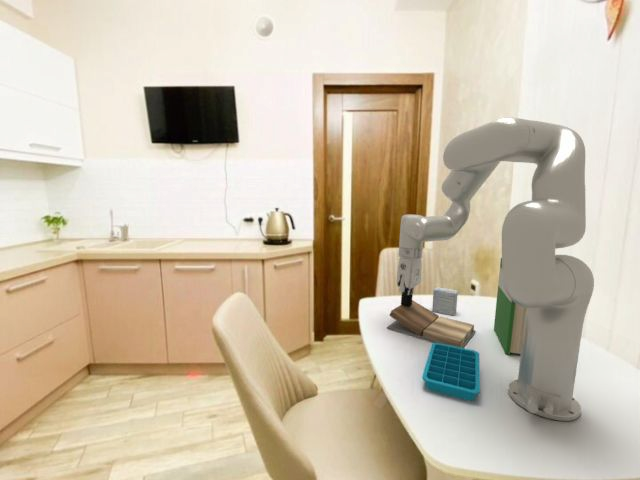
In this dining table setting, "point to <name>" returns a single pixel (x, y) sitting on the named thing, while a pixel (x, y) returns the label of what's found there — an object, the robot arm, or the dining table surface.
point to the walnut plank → (414, 317)
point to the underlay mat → (405, 330)
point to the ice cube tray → (453, 371)
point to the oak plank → (449, 331)
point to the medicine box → (444, 301)
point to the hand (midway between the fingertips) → (406, 305)
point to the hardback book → (508, 320)
